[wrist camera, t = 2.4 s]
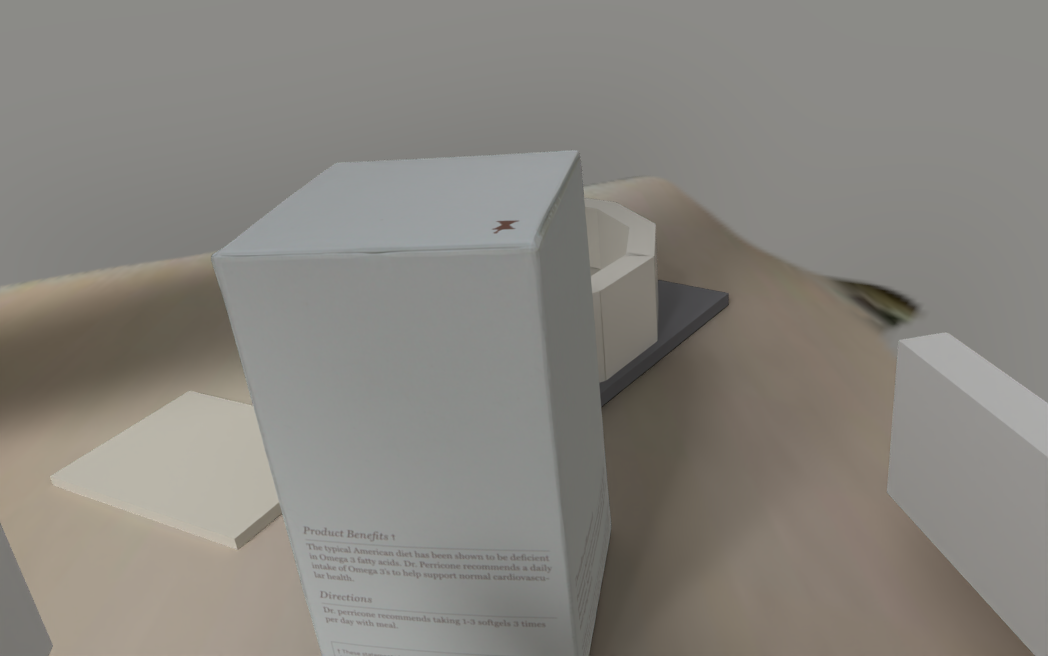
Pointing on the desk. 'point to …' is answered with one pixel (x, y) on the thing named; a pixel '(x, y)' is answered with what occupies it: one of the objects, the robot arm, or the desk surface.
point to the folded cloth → (185, 470)
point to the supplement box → (431, 401)
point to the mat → (668, 329)
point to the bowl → (621, 283)
